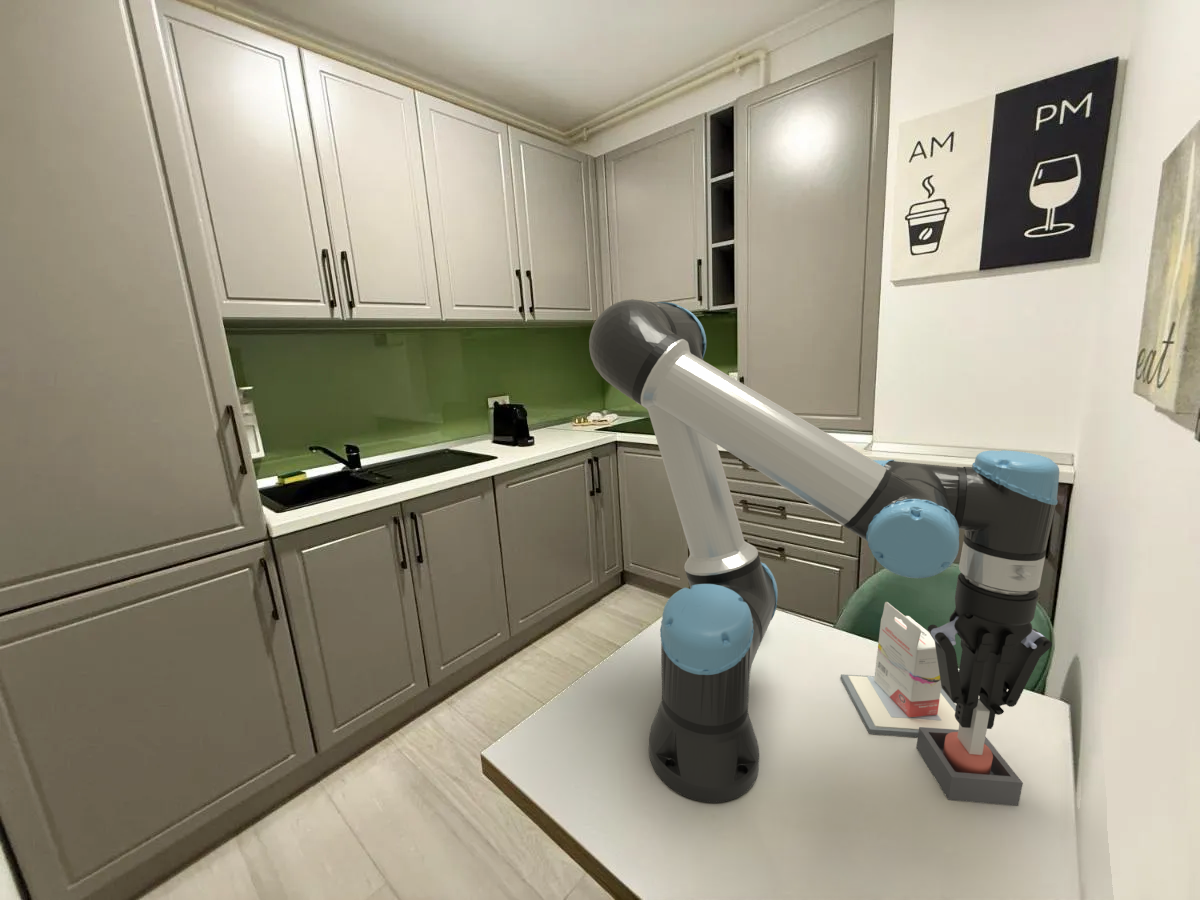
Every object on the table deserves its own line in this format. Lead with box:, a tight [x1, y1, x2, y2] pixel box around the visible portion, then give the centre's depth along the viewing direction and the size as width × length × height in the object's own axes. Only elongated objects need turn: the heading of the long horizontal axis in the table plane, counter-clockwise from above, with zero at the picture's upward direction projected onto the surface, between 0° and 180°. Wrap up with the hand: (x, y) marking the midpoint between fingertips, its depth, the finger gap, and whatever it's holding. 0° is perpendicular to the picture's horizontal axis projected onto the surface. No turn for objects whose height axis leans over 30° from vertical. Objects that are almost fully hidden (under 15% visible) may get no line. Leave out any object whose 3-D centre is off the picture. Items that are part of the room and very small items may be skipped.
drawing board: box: [840, 673, 959, 738], centre depth 76 cm, size 15×12×1 cm
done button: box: [943, 732, 993, 775], centre depth 64 cm, size 5×5×2 cm
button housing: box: [915, 727, 1024, 807], centre depth 64 cm, size 8×8×4 cm
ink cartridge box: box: [874, 601, 941, 717], centre depth 75 cm, size 9×5×15 cm, turn 5°
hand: (969, 745), depth 63 cm, fingers closed
